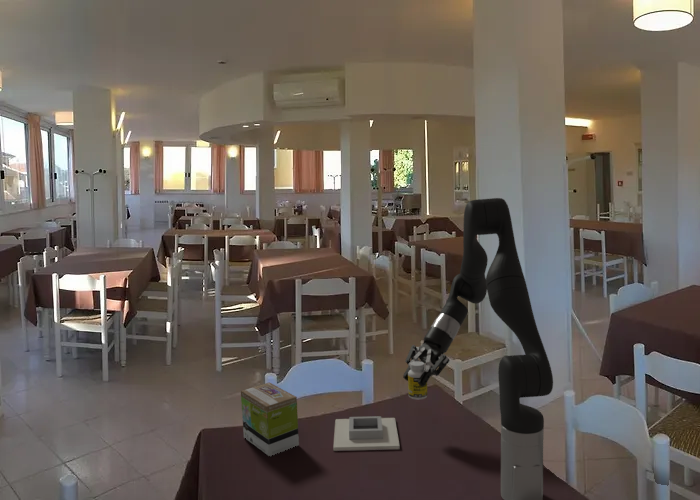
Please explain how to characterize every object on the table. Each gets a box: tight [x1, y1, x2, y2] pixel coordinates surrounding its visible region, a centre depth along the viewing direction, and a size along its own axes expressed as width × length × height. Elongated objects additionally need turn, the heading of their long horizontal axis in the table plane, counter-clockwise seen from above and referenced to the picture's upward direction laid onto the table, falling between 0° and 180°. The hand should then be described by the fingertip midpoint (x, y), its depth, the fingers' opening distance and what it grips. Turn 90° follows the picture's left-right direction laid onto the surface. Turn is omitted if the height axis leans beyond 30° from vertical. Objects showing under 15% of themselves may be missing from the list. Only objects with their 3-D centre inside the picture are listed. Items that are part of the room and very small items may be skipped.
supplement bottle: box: [407, 360, 428, 401], centre depth 159 cm, size 5×5×10 cm
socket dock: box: [333, 415, 401, 452], centre depth 161 cm, size 18×18×4 cm
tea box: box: [240, 382, 300, 457], centre depth 158 cm, size 15×10×15 cm, turn 39°
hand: (412, 381), depth 158 cm, fingers closed on supplement bottle, 5 cm apart
